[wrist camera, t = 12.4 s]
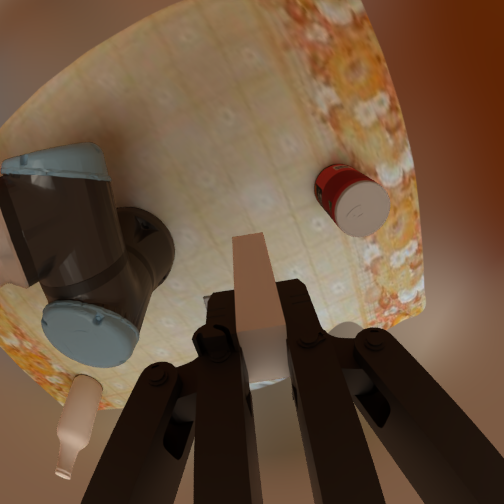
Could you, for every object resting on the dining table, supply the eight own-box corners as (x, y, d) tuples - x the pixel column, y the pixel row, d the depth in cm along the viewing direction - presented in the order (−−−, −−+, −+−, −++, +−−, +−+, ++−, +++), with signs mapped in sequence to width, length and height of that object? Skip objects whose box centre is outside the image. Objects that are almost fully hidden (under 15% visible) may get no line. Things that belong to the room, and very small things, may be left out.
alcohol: (78, 369, 62) (46, 465, 36) (106, 384, 65) (83, 482, 39) (72, 382, 65) (44, 470, 39) (98, 396, 68) (77, 485, 42)
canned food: (303, 187, 45) (324, 212, 35) (339, 152, 42) (369, 168, 33) (333, 218, 48) (358, 249, 38) (367, 185, 45) (400, 209, 35)
